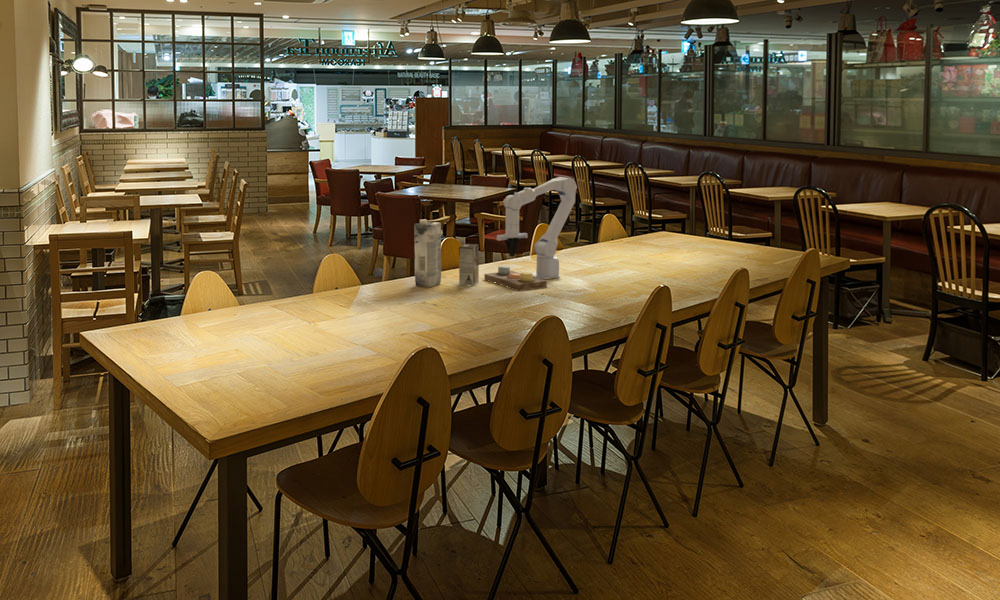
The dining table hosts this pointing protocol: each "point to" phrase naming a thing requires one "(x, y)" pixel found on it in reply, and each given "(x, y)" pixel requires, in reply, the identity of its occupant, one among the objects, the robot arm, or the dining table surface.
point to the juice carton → (427, 253)
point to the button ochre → (526, 277)
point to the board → (515, 281)
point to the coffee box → (469, 264)
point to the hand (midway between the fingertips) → (512, 256)
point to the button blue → (503, 270)
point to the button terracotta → (514, 276)
